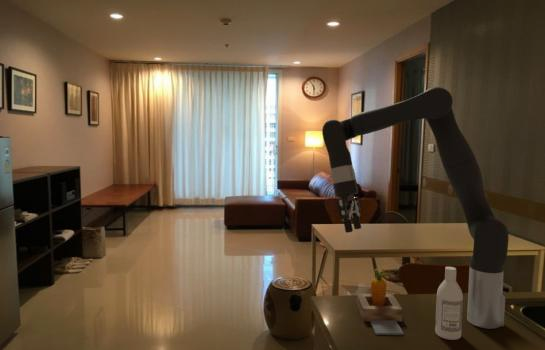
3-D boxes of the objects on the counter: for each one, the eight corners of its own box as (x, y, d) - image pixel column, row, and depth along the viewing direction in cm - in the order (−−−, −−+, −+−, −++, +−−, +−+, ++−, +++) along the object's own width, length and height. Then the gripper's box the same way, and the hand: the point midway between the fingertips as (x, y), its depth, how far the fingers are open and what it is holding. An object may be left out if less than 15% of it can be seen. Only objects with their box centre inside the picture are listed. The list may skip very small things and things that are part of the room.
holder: (391, 305, 139) (392, 293, 138) (402, 321, 127) (402, 309, 126) (356, 304, 139) (356, 293, 139) (363, 321, 127) (363, 308, 127)
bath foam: (466, 339, 116) (469, 271, 114) (445, 342, 114) (448, 273, 112) (450, 327, 123) (453, 263, 121) (430, 330, 121) (432, 265, 119)
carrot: (383, 309, 136) (384, 265, 134) (388, 316, 131) (389, 270, 129) (368, 309, 135) (369, 265, 134) (372, 316, 130) (373, 271, 129)
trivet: (396, 322, 126) (396, 320, 126) (403, 335, 118) (403, 333, 118) (370, 322, 127) (370, 320, 127) (375, 334, 119) (375, 332, 119)
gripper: (347, 179, 124) (358, 232, 122) (362, 178, 136) (371, 226, 135) (325, 183, 127) (334, 235, 126) (341, 182, 140) (350, 229, 138)
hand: (353, 230), depth 130 cm, fingers open, 8 cm apart
